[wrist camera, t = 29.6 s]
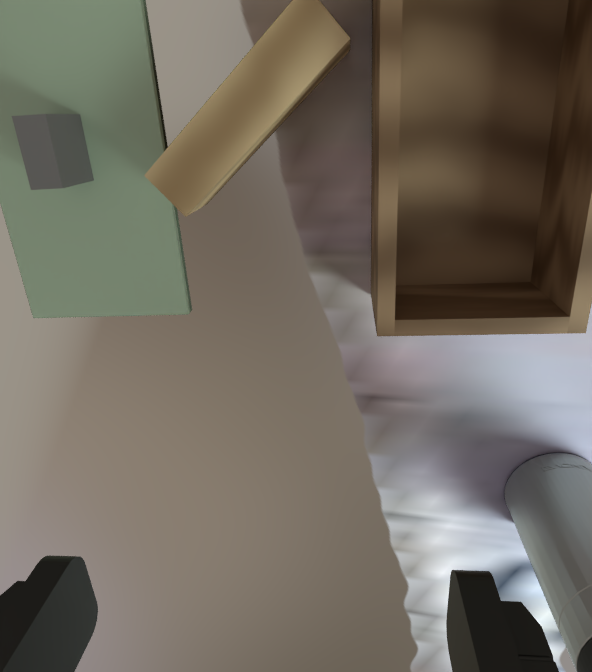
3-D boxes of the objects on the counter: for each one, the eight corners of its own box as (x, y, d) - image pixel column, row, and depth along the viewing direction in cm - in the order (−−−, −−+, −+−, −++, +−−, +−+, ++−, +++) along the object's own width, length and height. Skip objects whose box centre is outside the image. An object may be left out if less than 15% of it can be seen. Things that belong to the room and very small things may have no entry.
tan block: (349, 50, 36) (350, 38, 31) (206, 204, 42) (185, 217, 36) (312, 5, 36) (305, -16, 30) (171, 167, 41) (144, 175, 35)
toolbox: (538, 291, 42) (585, 333, 34) (371, 295, 43) (377, 336, 35) (588, -59, 33) (671, -119, 24) (372, -39, 34) (381, -89, 26)
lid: (192, 309, 46) (171, 336, 41) (40, 313, 48) (-1, 339, 42) (144, -11, 36) (107, -35, 31) (-46, 7, 38) (-114, -13, 32)
